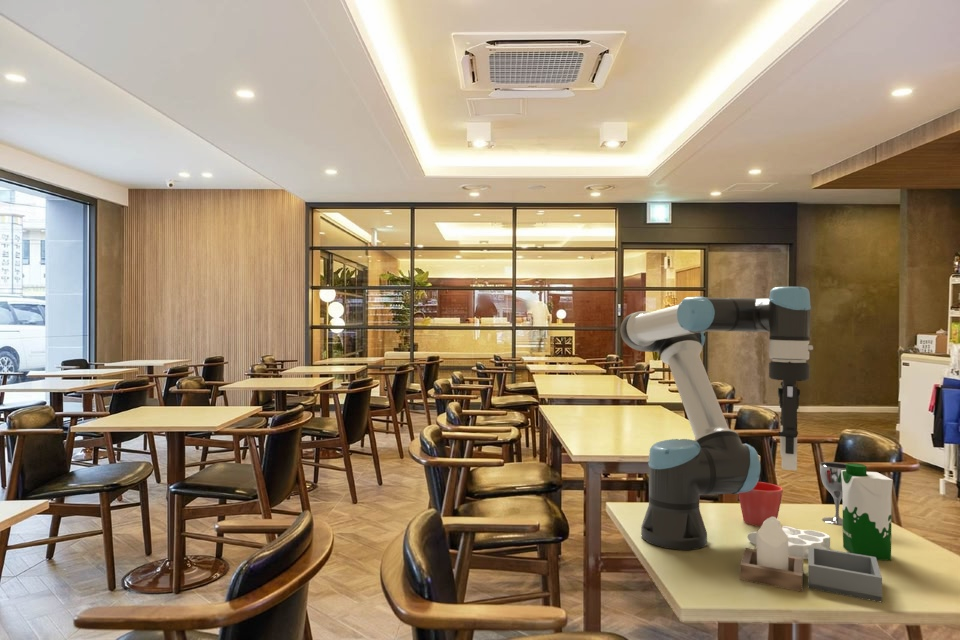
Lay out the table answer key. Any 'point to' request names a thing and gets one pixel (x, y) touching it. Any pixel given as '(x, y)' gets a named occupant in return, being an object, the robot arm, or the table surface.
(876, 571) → the tray
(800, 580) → the holder
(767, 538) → the white tall rounded piece
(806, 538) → the white brass knuckles
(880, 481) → the milk carton
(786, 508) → the table surface
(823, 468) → the wine glass
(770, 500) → the flower pot
